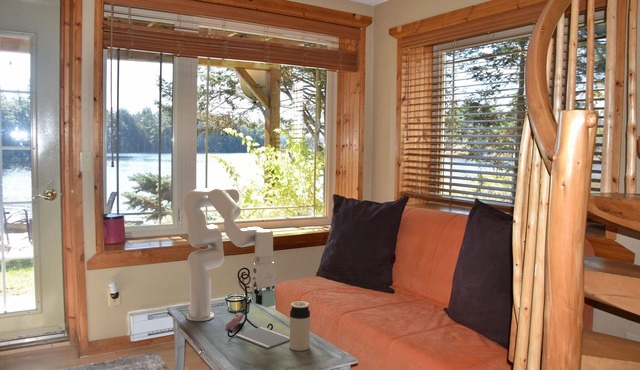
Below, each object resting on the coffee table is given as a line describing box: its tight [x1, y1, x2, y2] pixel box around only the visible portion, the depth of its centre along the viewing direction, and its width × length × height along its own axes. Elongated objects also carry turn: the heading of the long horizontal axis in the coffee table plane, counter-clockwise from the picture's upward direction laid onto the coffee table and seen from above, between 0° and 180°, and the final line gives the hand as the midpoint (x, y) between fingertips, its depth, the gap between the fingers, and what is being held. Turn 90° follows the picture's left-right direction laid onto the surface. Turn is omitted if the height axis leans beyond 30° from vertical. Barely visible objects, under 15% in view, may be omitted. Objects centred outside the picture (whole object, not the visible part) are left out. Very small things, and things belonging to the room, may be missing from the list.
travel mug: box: [289, 300, 311, 352], centre depth 223 cm, size 8×8×18 cm
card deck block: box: [252, 288, 276, 308], centre depth 232 cm, size 4×9×6 cm, turn 47°
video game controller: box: [225, 312, 245, 330], centre depth 248 cm, size 10×5×7 cm, turn 169°
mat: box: [235, 326, 290, 350], centre depth 234 cm, size 20×14×1 cm
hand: (263, 302), depth 232 cm, fingers closed on card deck block, 4 cm apart
